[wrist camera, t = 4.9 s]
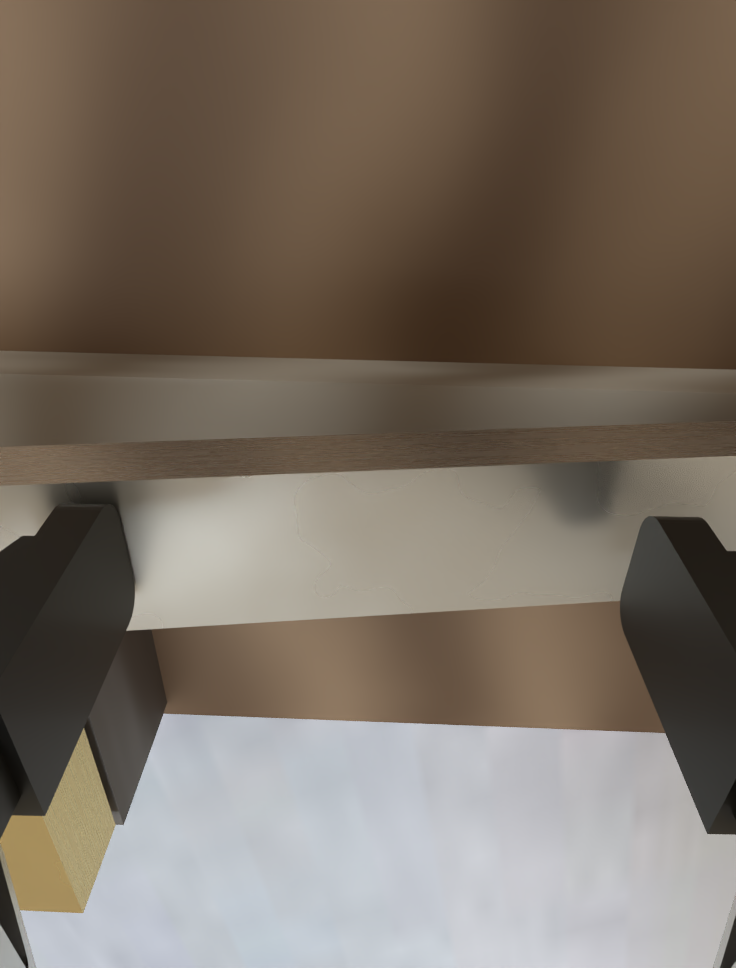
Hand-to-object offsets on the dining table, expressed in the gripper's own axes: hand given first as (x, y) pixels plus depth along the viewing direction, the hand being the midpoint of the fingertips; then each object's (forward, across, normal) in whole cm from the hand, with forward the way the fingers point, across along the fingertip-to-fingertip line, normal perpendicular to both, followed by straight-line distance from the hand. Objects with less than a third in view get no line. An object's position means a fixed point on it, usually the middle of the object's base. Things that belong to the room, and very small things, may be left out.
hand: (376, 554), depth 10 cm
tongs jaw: (+2, -2, 0) cm, 3 cm away
